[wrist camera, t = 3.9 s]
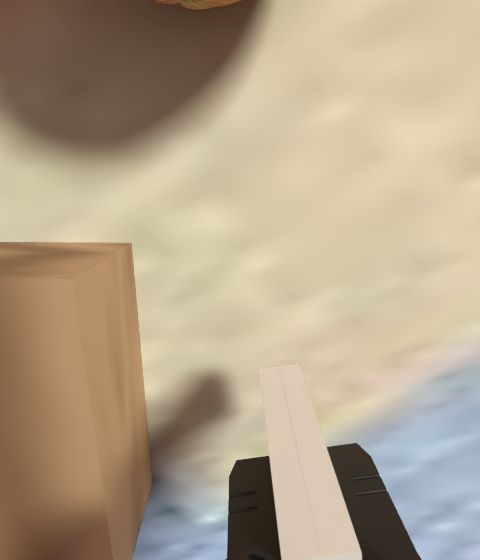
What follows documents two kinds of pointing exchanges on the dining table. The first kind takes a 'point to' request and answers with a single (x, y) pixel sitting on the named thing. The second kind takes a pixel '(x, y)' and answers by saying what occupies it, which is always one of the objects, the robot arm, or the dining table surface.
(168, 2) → the onion
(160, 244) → the dining table surface
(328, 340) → the dining table surface
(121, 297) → the block
